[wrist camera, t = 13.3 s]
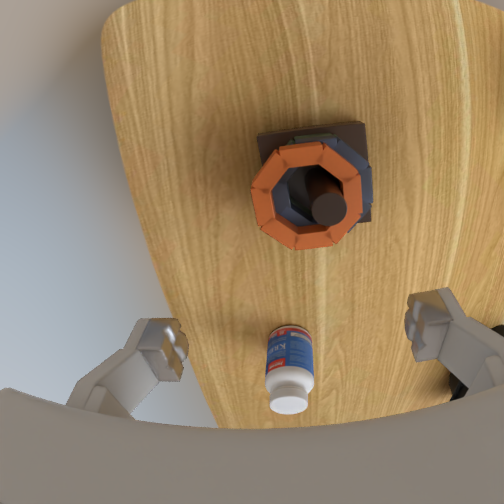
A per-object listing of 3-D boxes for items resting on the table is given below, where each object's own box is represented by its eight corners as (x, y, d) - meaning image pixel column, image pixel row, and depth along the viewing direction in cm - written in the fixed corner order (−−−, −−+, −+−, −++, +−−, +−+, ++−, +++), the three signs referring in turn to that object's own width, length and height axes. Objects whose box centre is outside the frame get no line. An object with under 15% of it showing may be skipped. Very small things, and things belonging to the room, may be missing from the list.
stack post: (257, 133, 25) (248, 152, 18) (360, 121, 23) (391, 136, 17) (275, 226, 29) (272, 274, 22) (367, 215, 28) (392, 259, 21)
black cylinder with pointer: (523, 313, 34) (544, 342, 27) (491, 383, 42) (503, 411, 35) (457, 329, 36) (475, 364, 30) (431, 399, 44) (440, 431, 38)
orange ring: (245, 152, 22) (242, 156, 20) (353, 137, 20) (357, 140, 19) (264, 246, 26) (263, 254, 24) (359, 234, 24) (363, 242, 23)
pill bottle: (280, 318, 35) (278, 386, 27) (319, 332, 36) (325, 399, 28) (260, 345, 38) (254, 410, 30) (297, 357, 39) (298, 421, 30)
